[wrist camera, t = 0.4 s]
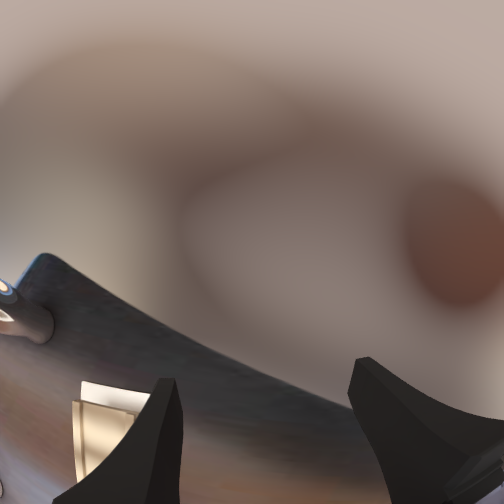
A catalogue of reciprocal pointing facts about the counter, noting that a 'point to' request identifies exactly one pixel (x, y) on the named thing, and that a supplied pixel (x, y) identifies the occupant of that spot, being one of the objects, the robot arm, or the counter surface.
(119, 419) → the balance beam
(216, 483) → the counter surface
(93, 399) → the beam stand
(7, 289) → the beer glass
